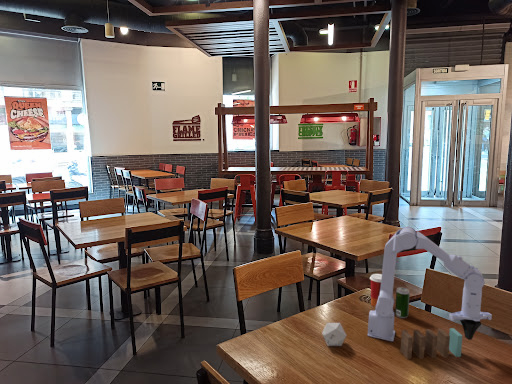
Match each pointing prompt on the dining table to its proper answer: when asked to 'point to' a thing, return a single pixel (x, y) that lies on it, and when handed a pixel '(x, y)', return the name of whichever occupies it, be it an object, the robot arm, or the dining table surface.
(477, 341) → the dining table surface
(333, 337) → the die
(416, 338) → the domino
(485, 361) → the dining table surface
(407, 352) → the domino
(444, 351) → the domino
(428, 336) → the domino
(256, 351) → the dining table surface
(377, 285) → the paper cup
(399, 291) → the beer can
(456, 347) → the domino
